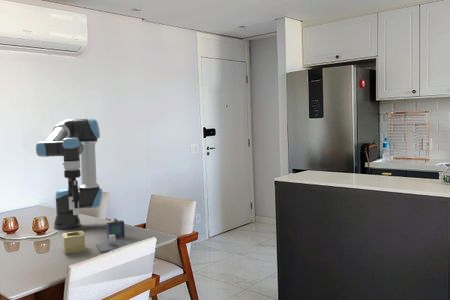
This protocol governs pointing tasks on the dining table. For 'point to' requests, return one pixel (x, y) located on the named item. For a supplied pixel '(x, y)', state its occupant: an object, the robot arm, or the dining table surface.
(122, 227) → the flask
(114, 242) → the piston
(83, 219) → the dining table surface
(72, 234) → the olive slotted box
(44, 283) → the dining table surface
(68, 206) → the robot arm
